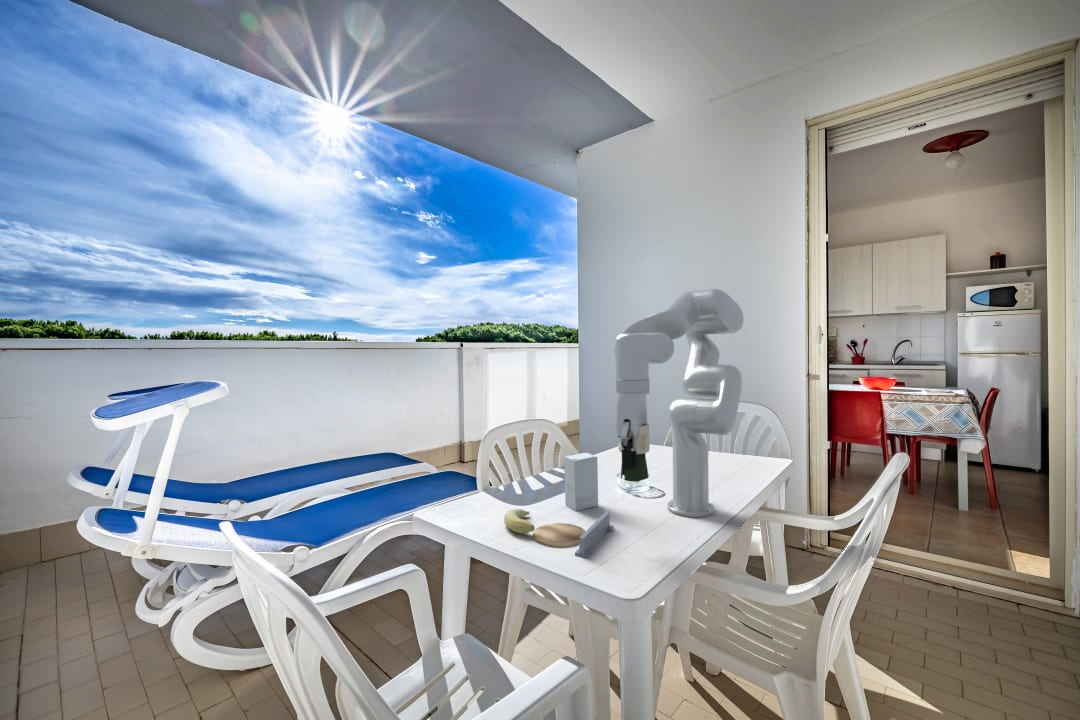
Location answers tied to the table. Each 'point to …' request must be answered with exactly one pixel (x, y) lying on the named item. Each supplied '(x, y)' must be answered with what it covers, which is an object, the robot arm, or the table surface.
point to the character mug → (638, 456)
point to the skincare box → (581, 481)
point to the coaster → (558, 535)
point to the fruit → (518, 521)
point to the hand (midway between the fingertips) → (634, 463)
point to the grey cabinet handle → (593, 535)
